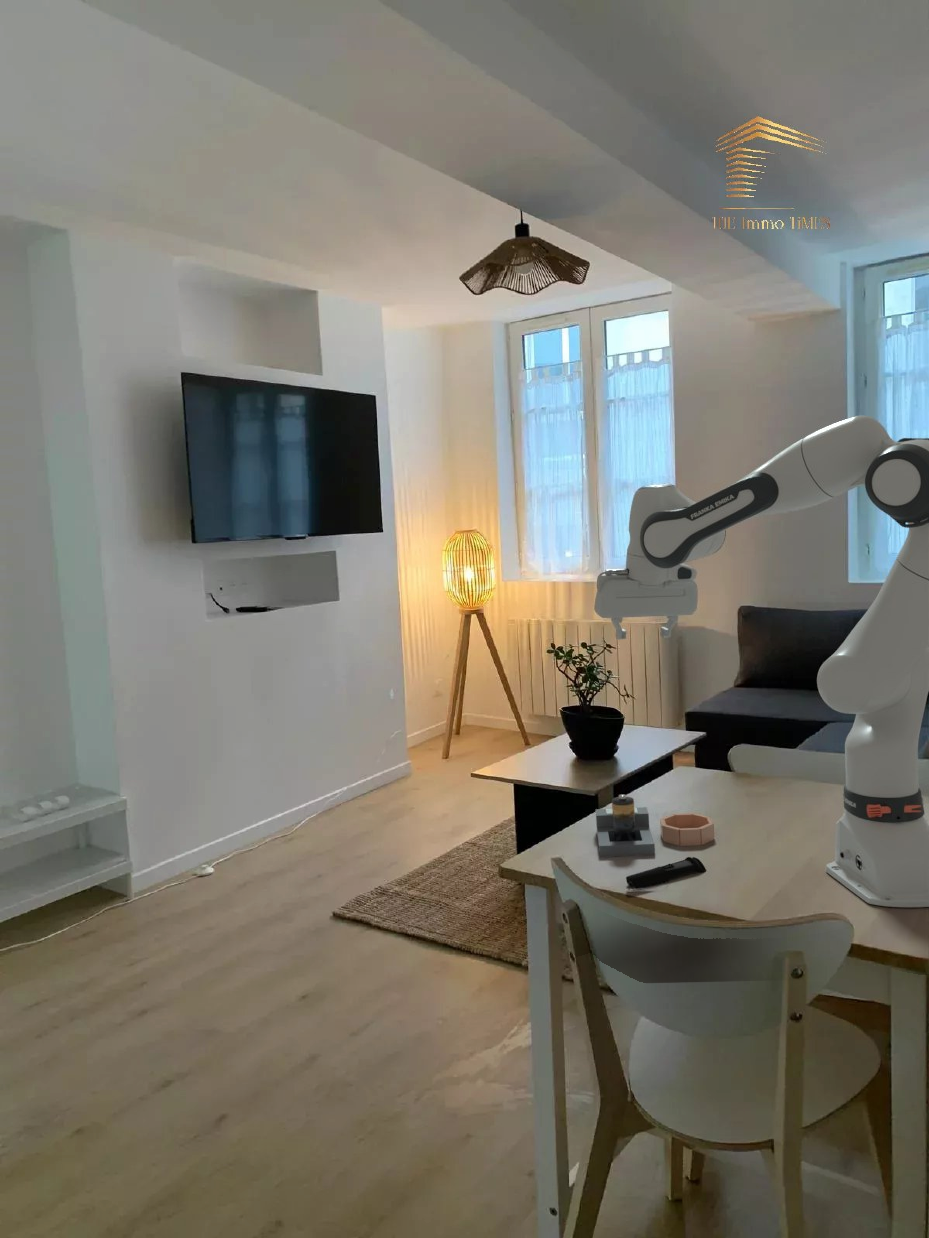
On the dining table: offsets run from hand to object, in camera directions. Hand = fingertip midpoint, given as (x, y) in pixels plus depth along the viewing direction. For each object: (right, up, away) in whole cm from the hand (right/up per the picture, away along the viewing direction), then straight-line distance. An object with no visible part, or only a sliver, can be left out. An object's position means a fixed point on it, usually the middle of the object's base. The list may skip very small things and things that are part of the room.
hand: (643, 637), depth 183 cm
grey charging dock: (-4, -40, -4) cm, 40 cm away
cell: (-4, -39, -6) cm, 40 cm away
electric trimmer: (0, -42, -22) cm, 47 cm away
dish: (+8, -39, -3) cm, 39 cm away
